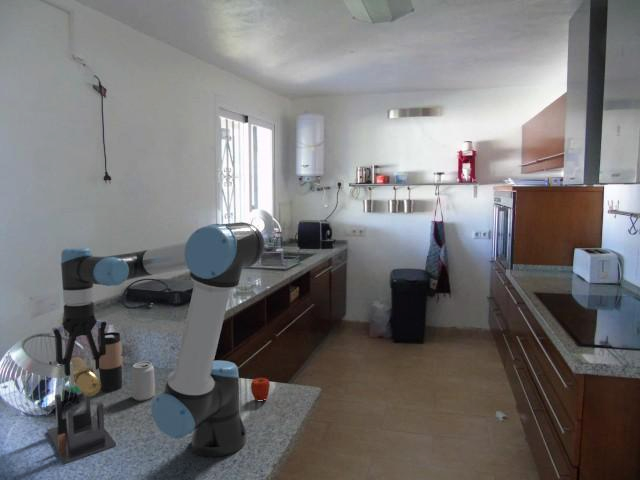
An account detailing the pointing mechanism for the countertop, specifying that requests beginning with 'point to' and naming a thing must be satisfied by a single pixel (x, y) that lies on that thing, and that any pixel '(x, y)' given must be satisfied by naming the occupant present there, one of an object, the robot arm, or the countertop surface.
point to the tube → (85, 378)
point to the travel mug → (111, 363)
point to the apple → (260, 388)
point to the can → (142, 381)
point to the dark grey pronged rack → (79, 432)
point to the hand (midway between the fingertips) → (82, 383)
